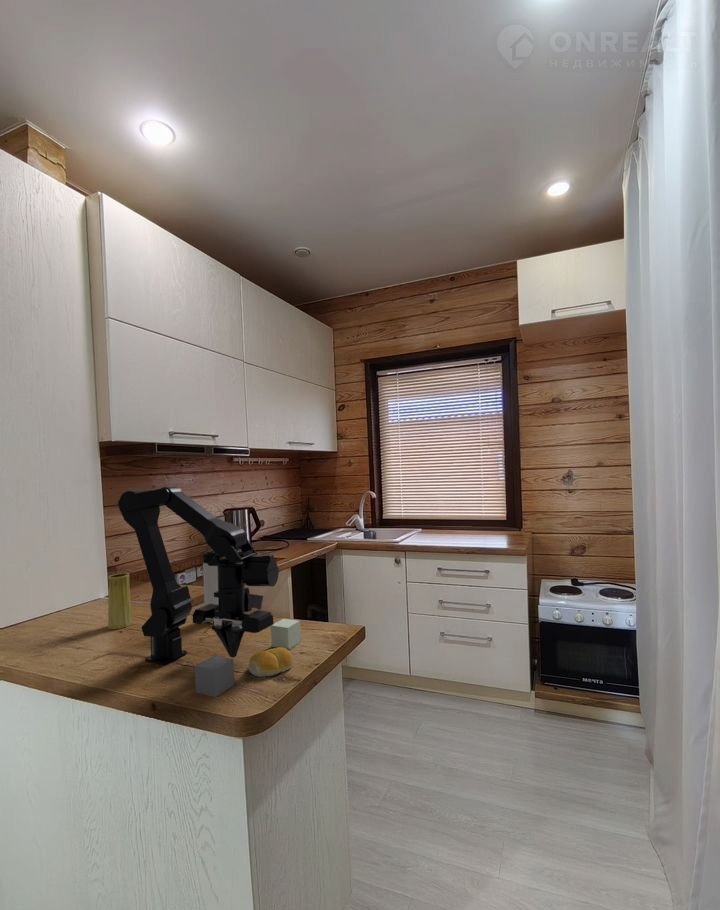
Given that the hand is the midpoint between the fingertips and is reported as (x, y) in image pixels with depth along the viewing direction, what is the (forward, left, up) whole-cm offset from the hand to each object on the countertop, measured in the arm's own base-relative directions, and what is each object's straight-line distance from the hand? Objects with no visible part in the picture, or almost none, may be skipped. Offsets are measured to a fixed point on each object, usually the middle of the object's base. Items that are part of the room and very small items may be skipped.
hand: (233, 656), depth 97 cm
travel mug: (-24, +20, -1) cm, 32 cm away
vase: (-48, +7, -1) cm, 49 cm away
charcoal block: (+6, -11, -1) cm, 12 cm away
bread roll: (+10, 0, -1) cm, 10 cm away
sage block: (+6, +12, -1) cm, 13 cm away
